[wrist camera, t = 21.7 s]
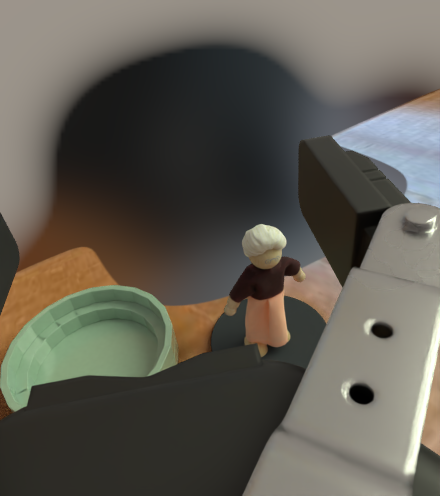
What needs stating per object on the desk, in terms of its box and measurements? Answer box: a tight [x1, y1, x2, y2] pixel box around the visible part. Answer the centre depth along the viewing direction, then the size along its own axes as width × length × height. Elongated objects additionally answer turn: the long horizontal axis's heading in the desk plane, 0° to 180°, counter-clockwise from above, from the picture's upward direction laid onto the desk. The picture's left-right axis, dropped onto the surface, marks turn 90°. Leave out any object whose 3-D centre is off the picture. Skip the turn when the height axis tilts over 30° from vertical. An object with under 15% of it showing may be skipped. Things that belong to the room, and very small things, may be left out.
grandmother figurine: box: [224, 224, 305, 357], centre depth 35 cm, size 8×4×13 cm, turn 129°
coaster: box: [211, 296, 326, 369], centre depth 39 cm, size 11×11×1 cm
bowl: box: [0, 285, 178, 412], centre depth 38 cm, size 15×15×4 cm
